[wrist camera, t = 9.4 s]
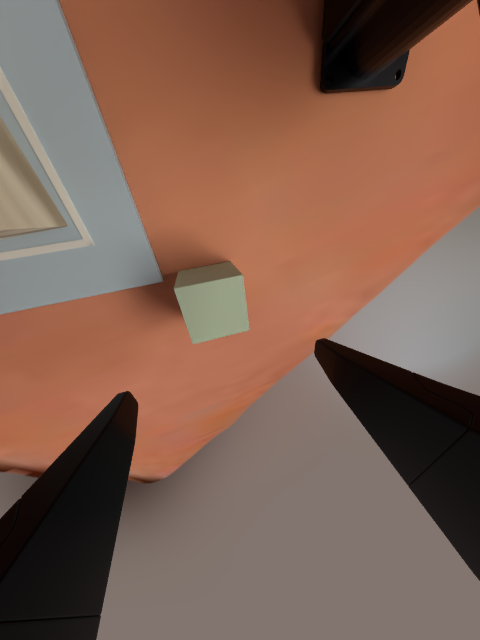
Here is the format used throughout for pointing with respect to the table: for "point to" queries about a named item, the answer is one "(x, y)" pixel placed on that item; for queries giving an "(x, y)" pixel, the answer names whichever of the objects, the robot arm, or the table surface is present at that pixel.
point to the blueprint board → (64, 170)
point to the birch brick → (22, 193)
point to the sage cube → (212, 301)
